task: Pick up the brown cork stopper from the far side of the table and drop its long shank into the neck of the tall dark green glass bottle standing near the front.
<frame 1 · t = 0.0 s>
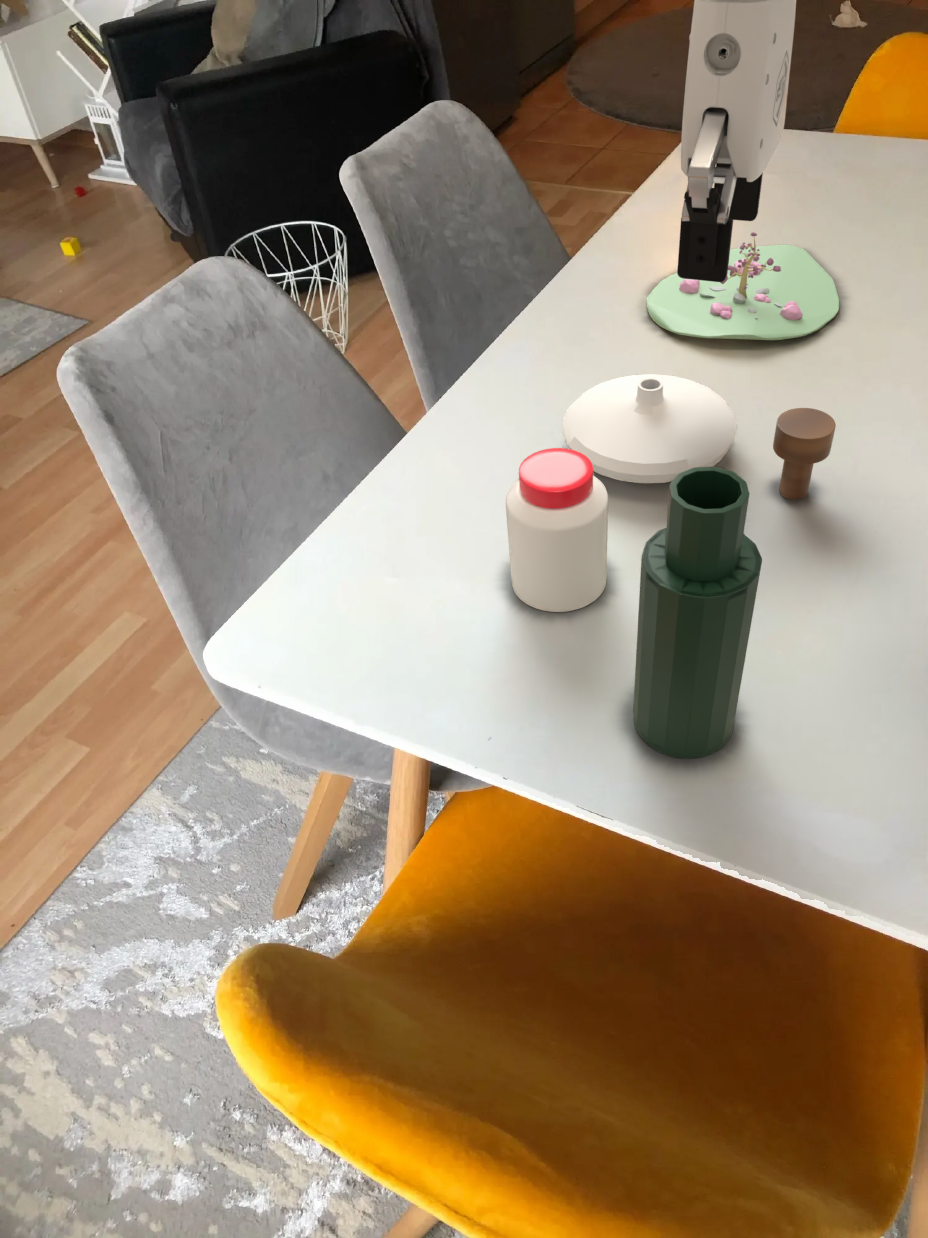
hand: (718, 246, 67), 23 cm above the table, tool pointing down, fingers open, 9 cm apart
vase: (646, 452, 90), on the table
stopper: (793, 491, 83), on the table
bottle: (683, 719, 67), on the table
pill bottle: (558, 581, 78), on the table
plant: (743, 297, 109), on the table
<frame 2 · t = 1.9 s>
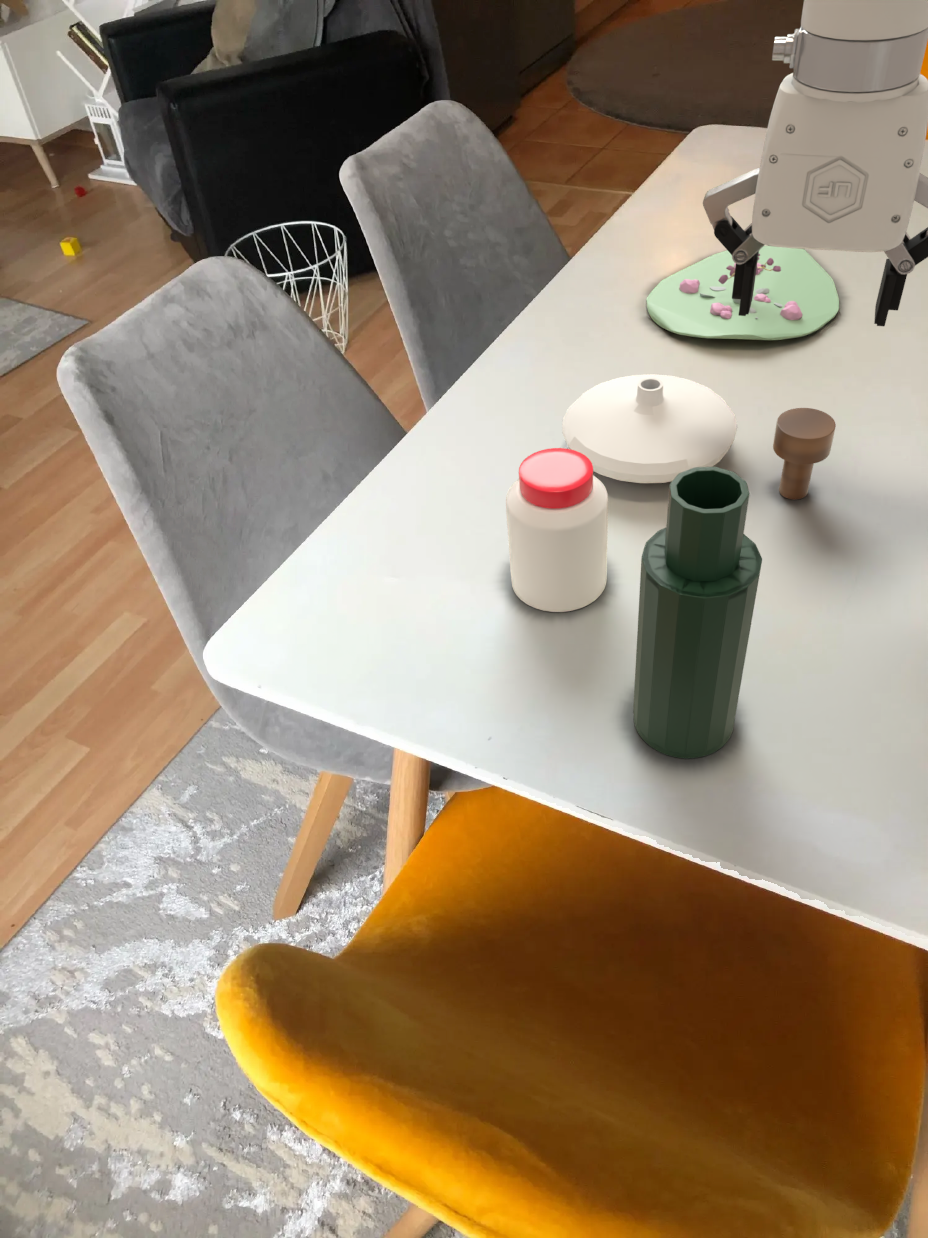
hand: (811, 312, 72), 17 cm above the table, tool pointing down, fingers open, 9 cm apart
nothing on the table moved.
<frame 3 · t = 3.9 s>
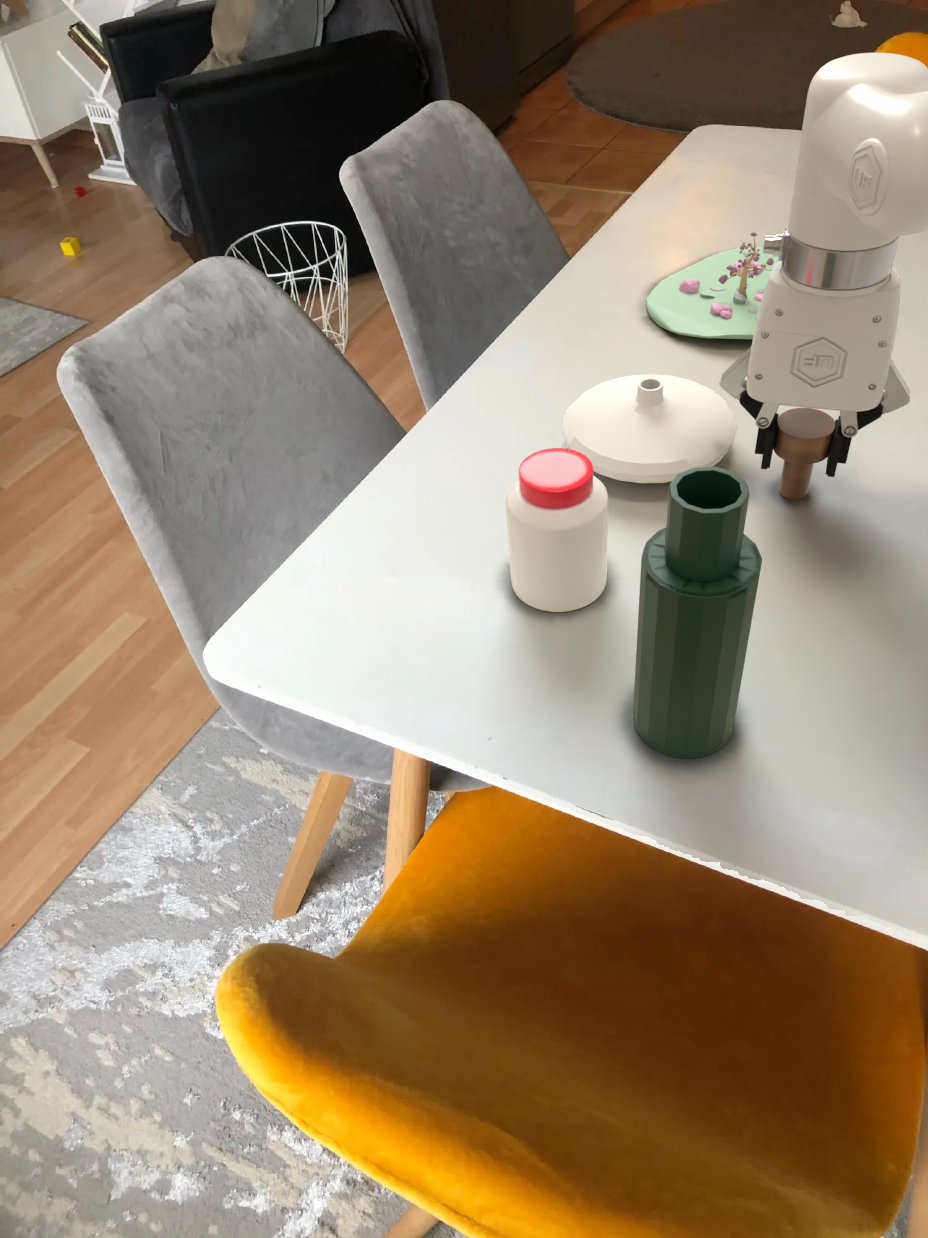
hand: (798, 461, 81), 3 cm above the table, tool pointing down, fingers closed on stopper, 4 cm apart
stopper: (793, 491, 83), on the table, touching gripper
everything else where it was.
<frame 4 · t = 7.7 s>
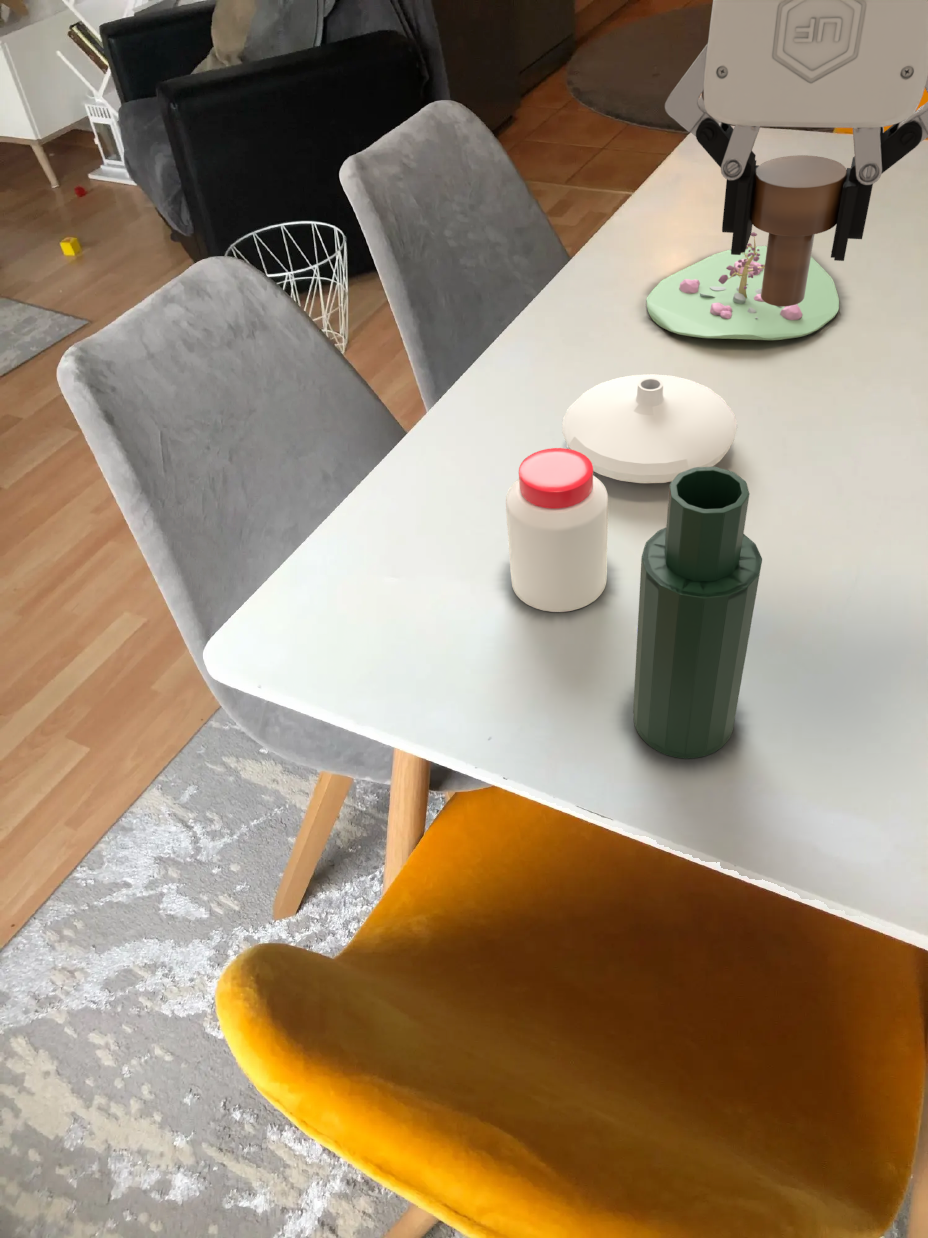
hand: (789, 243, 53), 29 cm above the table, tool pointing down, fingers closed on stopper, 4 cm apart
stopper: (782, 296, 55), point 26 cm above the table, touching gripper
everything else where it was.
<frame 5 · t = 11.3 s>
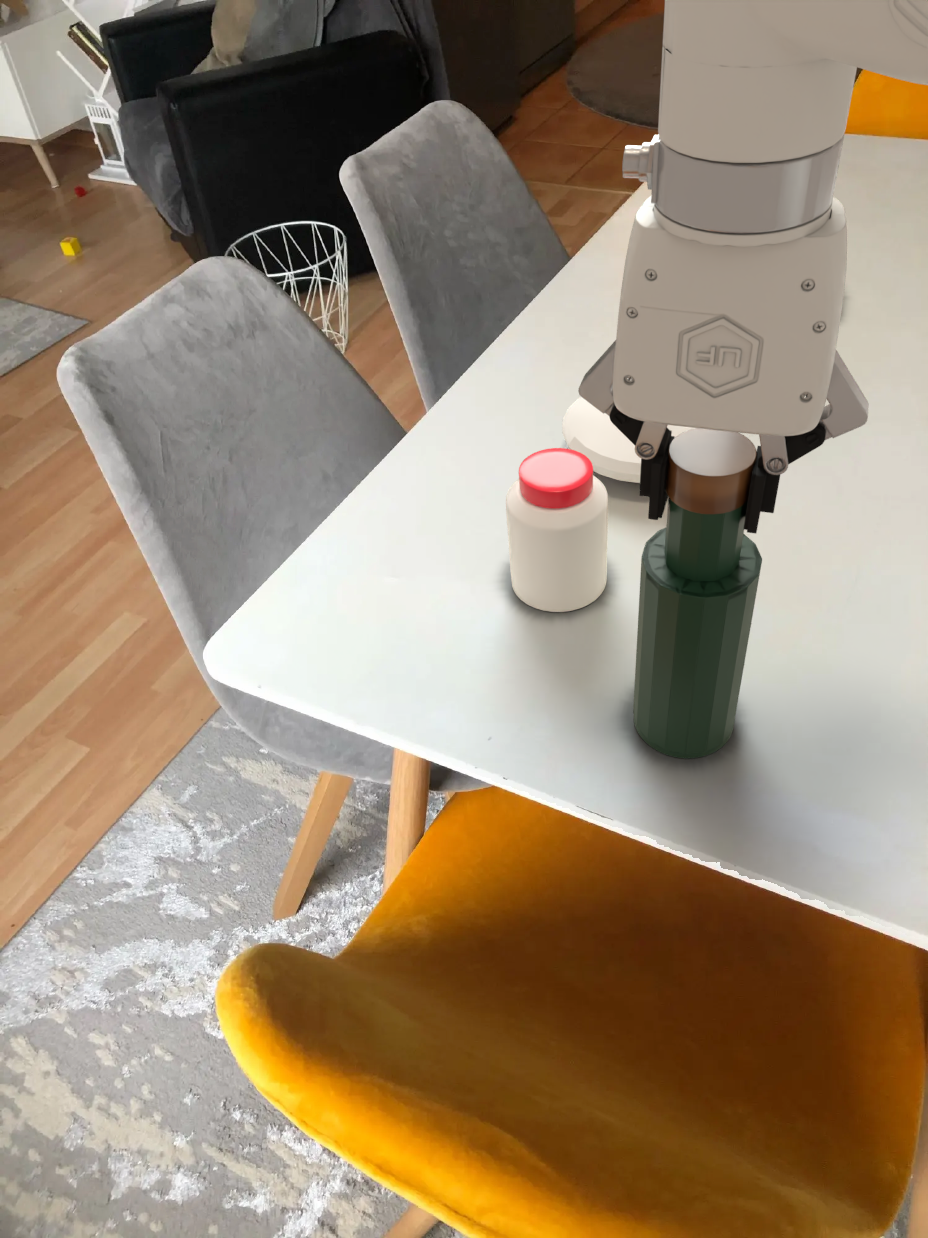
hand: (705, 508, 54), 19 cm above the table, tool pointing down, fingers closed on stopper, 4 cm apart
stopper: (700, 550, 56), point 16 cm above the table, touching bottle, gripper
everything else where it was.
when the fingers open (19 cm above the table, at t = 11.6 s): stopper stays where it is, resting on bottle.
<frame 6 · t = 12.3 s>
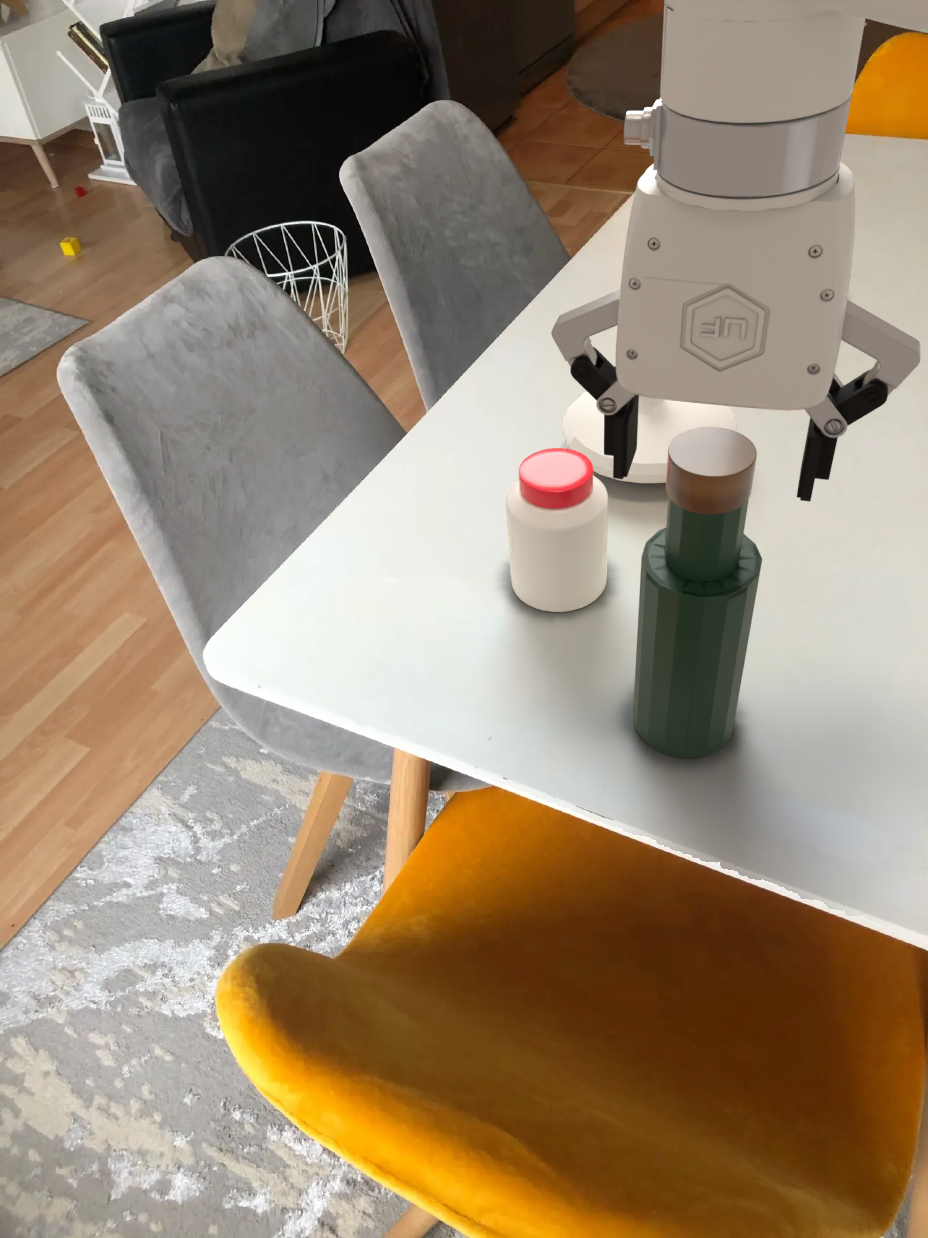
hand: (712, 474, 52), 21 cm above the table, tool pointing down, fingers open, 9 cm apart
stopper: (701, 550, 56), point 15 cm above the table, touching bottle
everything else where it was.
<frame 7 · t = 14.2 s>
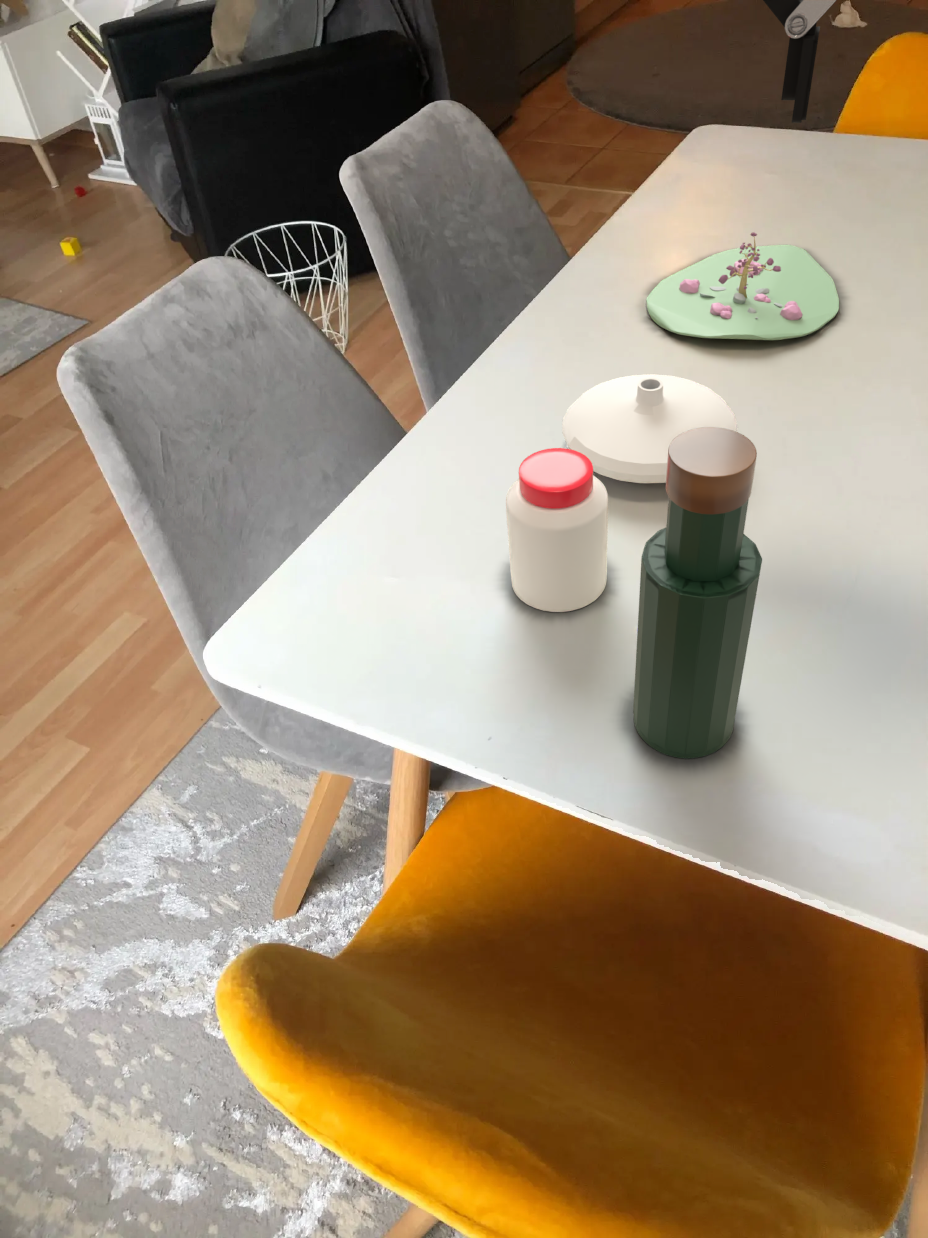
hand: (894, 114, 51), 34 cm above the table, tool pointing down, fingers open, 9 cm apart
nothing on the table moved.
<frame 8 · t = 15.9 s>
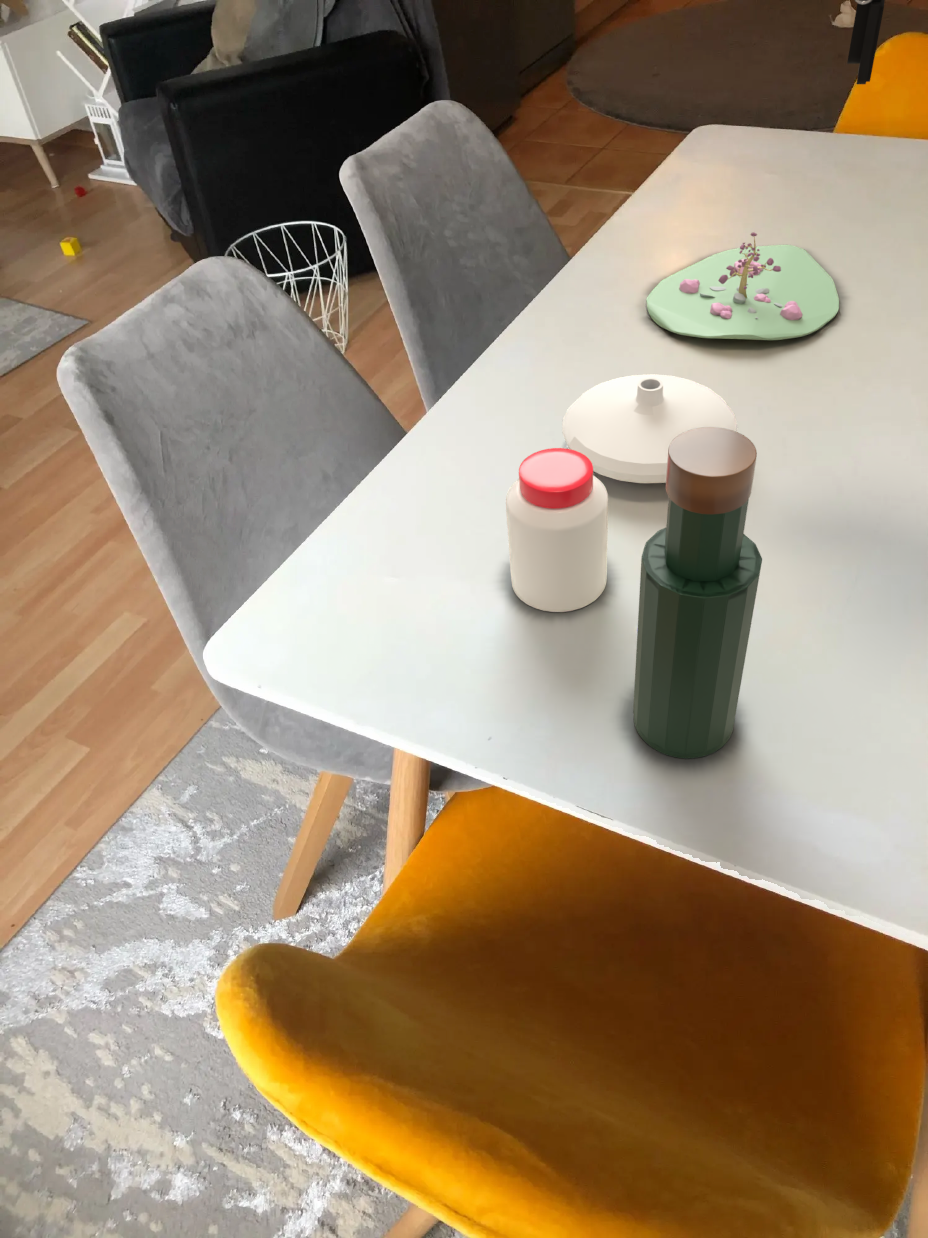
nothing on the table moved.
at the end: stopper 0.1 cm off-centre in the bottle, point 15.5 cm above the bottle's base; stopper tilted 0°; the gripper is holding nothing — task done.
